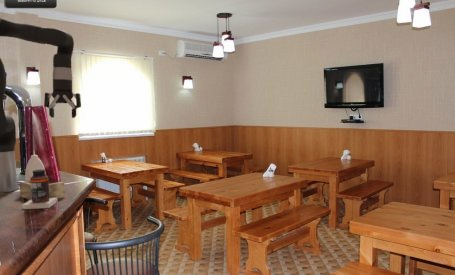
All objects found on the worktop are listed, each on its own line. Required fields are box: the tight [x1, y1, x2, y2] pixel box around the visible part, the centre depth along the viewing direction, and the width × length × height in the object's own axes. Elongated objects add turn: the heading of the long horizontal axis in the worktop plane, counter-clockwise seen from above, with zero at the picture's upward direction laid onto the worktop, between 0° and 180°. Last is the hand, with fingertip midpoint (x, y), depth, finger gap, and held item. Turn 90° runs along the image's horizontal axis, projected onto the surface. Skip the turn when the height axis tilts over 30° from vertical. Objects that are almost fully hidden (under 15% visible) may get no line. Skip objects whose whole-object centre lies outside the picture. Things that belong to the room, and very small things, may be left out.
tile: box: [21, 198, 59, 210], centre depth 137 cm, size 9×9×2 cm
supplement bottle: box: [30, 169, 50, 202], centre depth 137 cm, size 6×6×11 cm
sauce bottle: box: [24, 150, 47, 181], centre depth 162 cm, size 8×8×18 cm
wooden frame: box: [19, 180, 66, 200], centre depth 150 cm, size 10×16×6 cm, turn 52°
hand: (63, 117), depth 160 cm, fingers open, 8 cm apart
